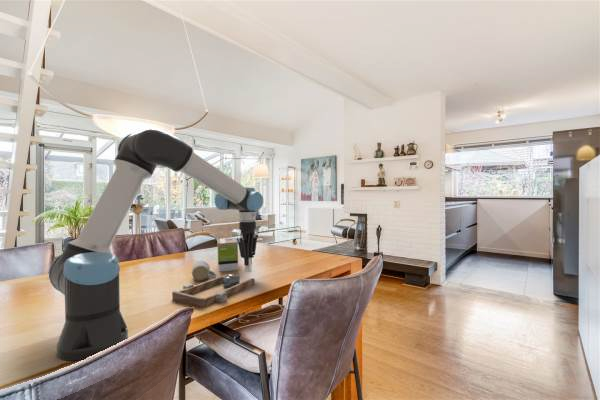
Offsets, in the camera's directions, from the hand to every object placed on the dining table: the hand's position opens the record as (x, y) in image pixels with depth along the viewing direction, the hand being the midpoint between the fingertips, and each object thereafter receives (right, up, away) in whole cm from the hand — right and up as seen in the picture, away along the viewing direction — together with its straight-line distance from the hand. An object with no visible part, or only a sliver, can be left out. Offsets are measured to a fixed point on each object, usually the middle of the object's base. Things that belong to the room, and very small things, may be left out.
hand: (248, 271), depth 134 cm
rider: (-6, -4, -10) cm, 12 cm away
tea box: (-15, -3, +21) cm, 26 cm away
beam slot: (-9, -4, -17) cm, 19 cm away
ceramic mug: (-21, -4, +1) cm, 21 cm away
